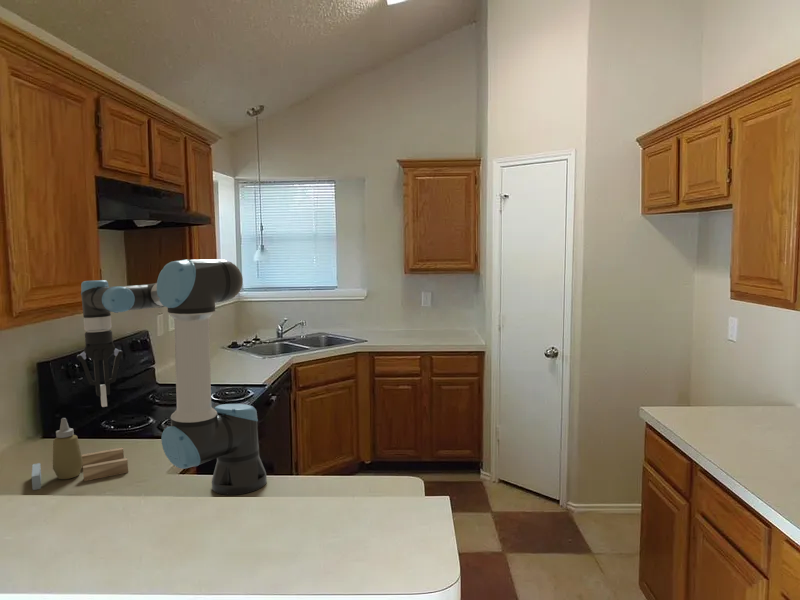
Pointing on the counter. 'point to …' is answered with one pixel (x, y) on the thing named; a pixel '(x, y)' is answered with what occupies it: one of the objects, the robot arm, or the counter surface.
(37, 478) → the bar
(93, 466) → the bar
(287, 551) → the counter surface
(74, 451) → the squeeze bottle
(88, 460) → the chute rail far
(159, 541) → the counter surface
